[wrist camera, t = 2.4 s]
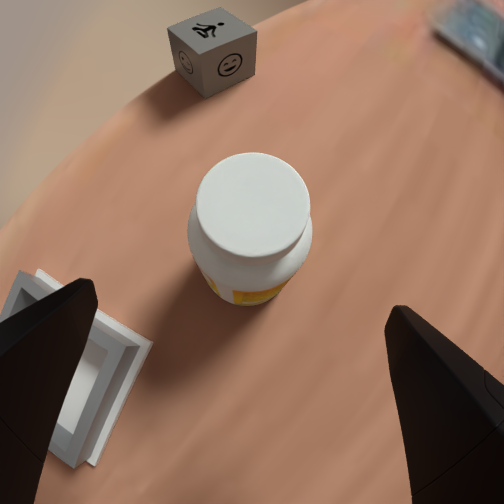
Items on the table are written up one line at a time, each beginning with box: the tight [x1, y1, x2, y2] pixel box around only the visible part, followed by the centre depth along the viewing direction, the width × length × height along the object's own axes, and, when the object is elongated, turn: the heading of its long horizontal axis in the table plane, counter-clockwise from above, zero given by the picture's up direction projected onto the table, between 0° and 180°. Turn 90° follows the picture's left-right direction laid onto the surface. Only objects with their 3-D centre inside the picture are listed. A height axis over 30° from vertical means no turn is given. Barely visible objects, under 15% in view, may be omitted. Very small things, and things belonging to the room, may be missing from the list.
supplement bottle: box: [187, 153, 312, 306], centre depth 16 cm, size 5×5×10 cm
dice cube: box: [167, 7, 257, 99], centre depth 22 cm, size 5×5×5 cm
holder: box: [0, 269, 154, 469], centre depth 16 cm, size 10×10×3 cm
